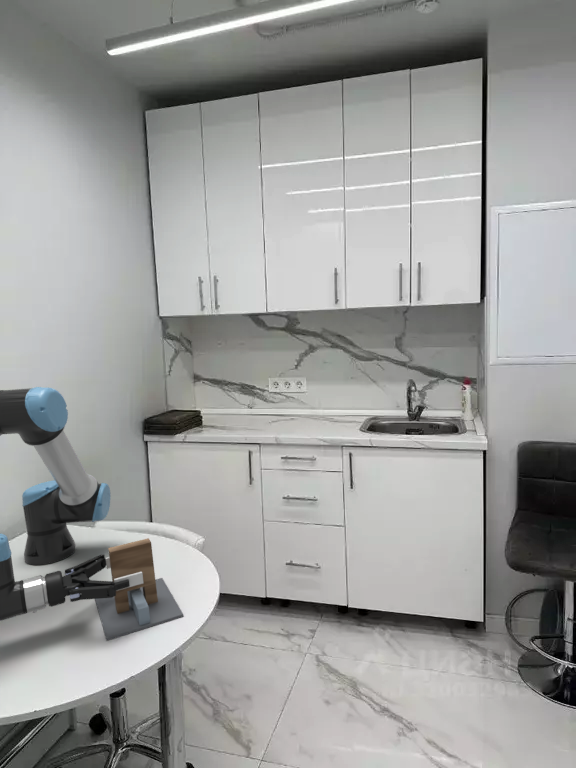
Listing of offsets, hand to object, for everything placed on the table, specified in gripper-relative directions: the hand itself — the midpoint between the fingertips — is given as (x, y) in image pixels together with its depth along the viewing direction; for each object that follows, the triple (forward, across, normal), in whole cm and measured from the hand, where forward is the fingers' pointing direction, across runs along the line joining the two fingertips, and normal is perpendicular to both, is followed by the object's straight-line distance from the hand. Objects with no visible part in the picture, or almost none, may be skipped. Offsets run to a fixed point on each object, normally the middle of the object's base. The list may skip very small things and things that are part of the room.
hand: (137, 566), depth 138 cm
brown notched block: (-1, 0, -10) cm, 10 cm away
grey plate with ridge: (-1, 0, -11) cm, 11 cm away
